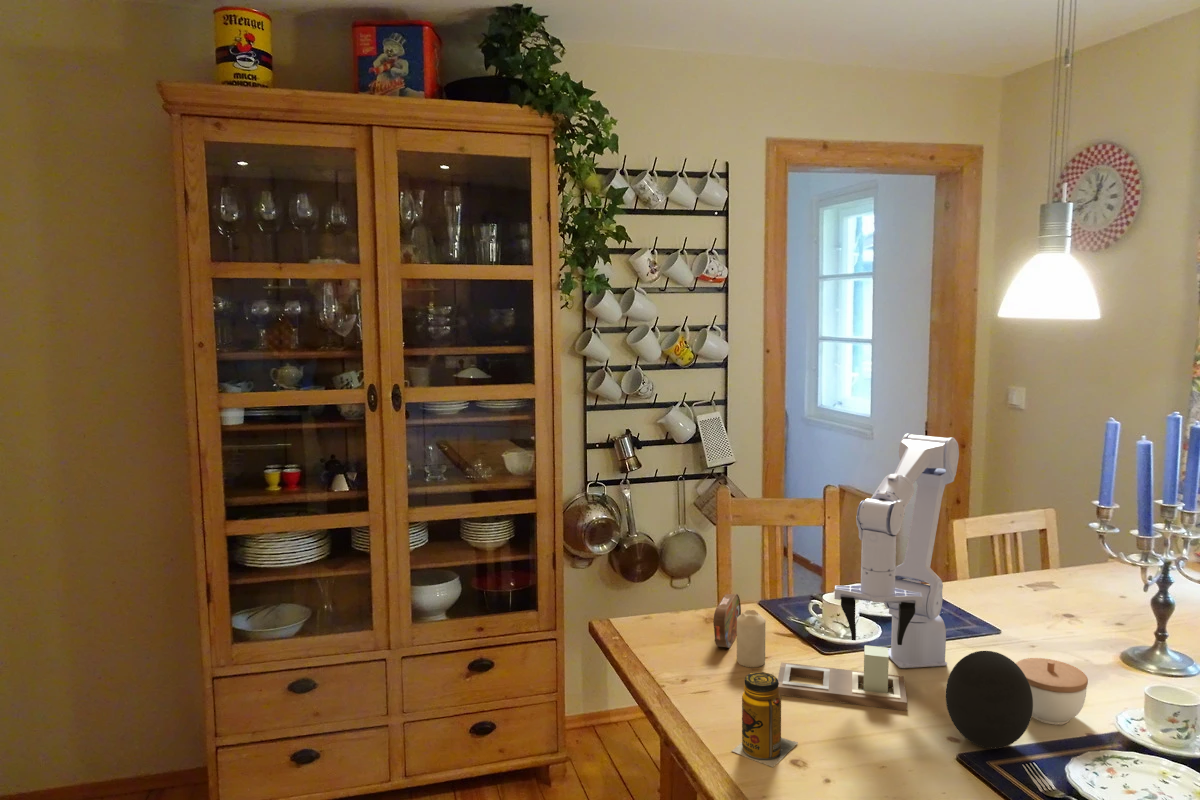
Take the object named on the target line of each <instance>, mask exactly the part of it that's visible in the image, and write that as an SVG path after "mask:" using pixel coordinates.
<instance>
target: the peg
mask: <svg viewBox="0 0 1200 800" xmlns="http://www.w3.org/2000/svg"><path fill="white" fill-rule="evenodd" d="M888 648H889V647H884V646H875V645H867V644H865V645H864V649H863V650H864V651H863V654H864V655H863V659H864V660H863V672H864V684H862V685H863V690H862V691H870V692H878V693H886V694H889V693H888V691H889V687H888V674H889V664H890V663H889V662H890V661H889V660H890V658H889V654H888Z"/></svg>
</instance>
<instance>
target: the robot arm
mask: <svg viewBox="0 0 1200 800" xmlns="http://www.w3.org/2000/svg"><path fill="white" fill-rule="evenodd" d="M959 449H960V447H959V443H958V441H957V440H956V438H955V437H942V436H930V435H921V434H912V433H905V434H904V435H903V437H902V438H901V439H900V441H899V445H898V457H899V460H900V461H899V462H898V465H897V467H896V469H895V471H894V473H889V474H887V475H886V476H885V477H884V478H883V479H882V481H881V482H880V484H879V485H878V487H877V488H876V489H875V491H874V493H873V494H872V496H871V497H870V498H869V497H867V498H866V499H865V500H864V499H863V500H861V501H860V503H859V504H858V506H857V510H856V517H855V522H856V523H855V524H856V527H857V529H858V538H859V541H861V553H860V554H861V556H860V557H861V559H860V562H861V563H860V584H854V585H834V600H836V601H837V600H840V606H841V610H842V611H843V613H844V616H845V619H846V620H847V624H848V626H849V627H848V628H849V629H850V636H851V641H856V640H857V629H856V628H857V627H856V601H866V602H872V603H880V604H883V605H884V607H885V608H886V609H888V614H889V615H891V635H890V636H891V641H890V642H891V645H890V647H887V648H888V654H889V660H891V661H892V662H893V663H894V664H895V665H896V666H897V667H898V668H899V669H911V668H913V669H914V668H926V667H927V668H928V667H929V668H930V667H944V666H948V662H947V661H946V647H947V646H946V645H947V643H946V642H947V630H946V629H947V628H946V625H945V622H944V620H943V618H942V617H941V616H940V614H941V611H942V607H943V599H944V598H943V588H944V586H943V585H944V584H943V580H942V579H941V578H940V576H938V575H937V573H936V572H934V570H933V569H932V568H931V564H932V558H933V553H934V546H935V540H936V534H937V529H938V524H939V517H940V511H941V508H942V507H941V506H942V500H943V496H944V491H945V488H946V485H948V484H951V483H953V482H955V479H956V475H957V470H958V464H959V458H960V450H959ZM915 482H916V484H917V485H916V486H917V488H916V492H915V487H914V483H915ZM915 493H916V494H915ZM914 494H915V498H914V504H913V508H912V509H913V510H912V516H911V521H910V527H909V533H908V537H907V544H906V549H905V555H904V559H903V562H902V563H901V564H898V565H897V564H896V561H897V558H896V557H897V556H896V555H897V535H898V534H899V532H900V531H901V528H902V525H903V520H904V517H905V509H906V507H907V506H908V504H909V503H910V501H911V499H912V497H913V496H914ZM911 580H912V581H911ZM925 583H926V584H925Z"/></svg>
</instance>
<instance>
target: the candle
mask: <svg viewBox="0 0 1200 800" xmlns="http://www.w3.org/2000/svg"><path fill="white" fill-rule="evenodd" d="M766 622H767V621H766V618H764V617H763V616H762V615H761V613H759V612H758V611H756V610H754V609H752V610H751V609H750V610H748V609H747V610H746V611H744V612H741V615H740V616H739V617H738V618H737V636H736V661H737V663H738V664H739V665H740V666H743V667H746V668H759V667H762V666H763V665H765V664H766Z"/></svg>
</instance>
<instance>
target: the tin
mask: <svg viewBox="0 0 1200 800" xmlns="http://www.w3.org/2000/svg"><path fill="white" fill-rule="evenodd" d="M741 607H742V606H741V599H740V595H739V594H738V593H735V594H734V593H731V594H729V593H725V594H724V595H723V597H722V598H721V600H720V601H719V603H718V605H717V606H716V608H715V610H714V614H713V624H712V625H713V631H714V633H713V634H714V644H715V645H716V647H719V648H727V649H730V648H731V647H732V645H733V644H734V642H735V640H736V639H737V618H738V617H739V616H740V615H741V614H742V608H741Z"/></svg>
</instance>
